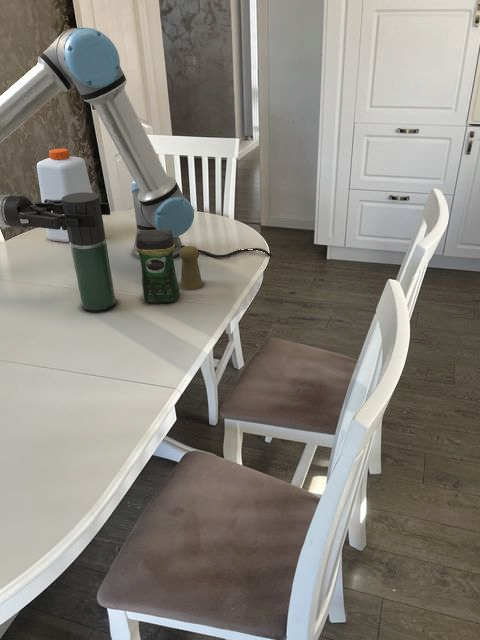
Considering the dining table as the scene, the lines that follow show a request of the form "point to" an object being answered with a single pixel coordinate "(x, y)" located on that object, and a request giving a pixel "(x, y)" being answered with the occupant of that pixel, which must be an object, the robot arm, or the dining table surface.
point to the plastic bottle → (61, 182)
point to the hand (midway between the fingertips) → (102, 214)
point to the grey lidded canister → (86, 206)
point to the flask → (94, 276)
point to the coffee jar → (157, 265)
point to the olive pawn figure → (190, 268)
